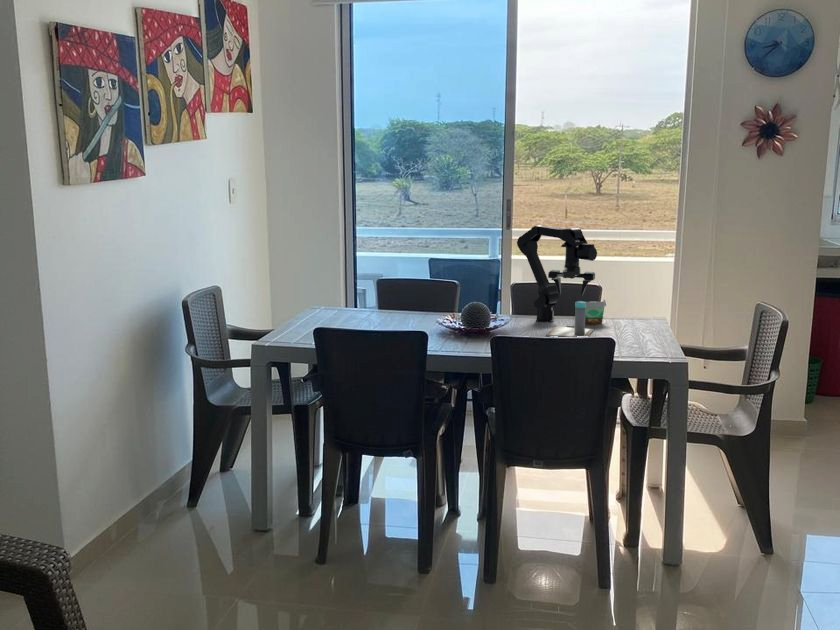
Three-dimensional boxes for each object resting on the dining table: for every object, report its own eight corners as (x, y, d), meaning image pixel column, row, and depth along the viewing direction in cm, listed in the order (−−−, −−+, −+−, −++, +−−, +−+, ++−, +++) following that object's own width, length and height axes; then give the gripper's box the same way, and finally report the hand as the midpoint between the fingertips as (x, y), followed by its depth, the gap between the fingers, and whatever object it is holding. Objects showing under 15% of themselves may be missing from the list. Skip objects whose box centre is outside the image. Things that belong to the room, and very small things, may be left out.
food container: (582, 326, 343) (583, 303, 341) (577, 323, 349) (578, 300, 347) (610, 325, 345) (611, 302, 343) (604, 322, 351) (605, 299, 349)
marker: (573, 335, 322) (574, 303, 319) (575, 332, 326) (576, 301, 323) (583, 336, 320) (585, 303, 318) (585, 333, 324) (587, 301, 321)
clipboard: (545, 336, 323) (545, 333, 323) (555, 327, 340) (555, 324, 340) (586, 340, 317) (586, 336, 317) (593, 330, 335) (593, 327, 335)
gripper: (546, 259, 334) (544, 297, 337) (591, 262, 327) (590, 300, 330) (551, 256, 344) (550, 292, 347) (596, 258, 338) (594, 295, 341)
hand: (570, 295), depth 341 cm, fingers open, 9 cm apart
